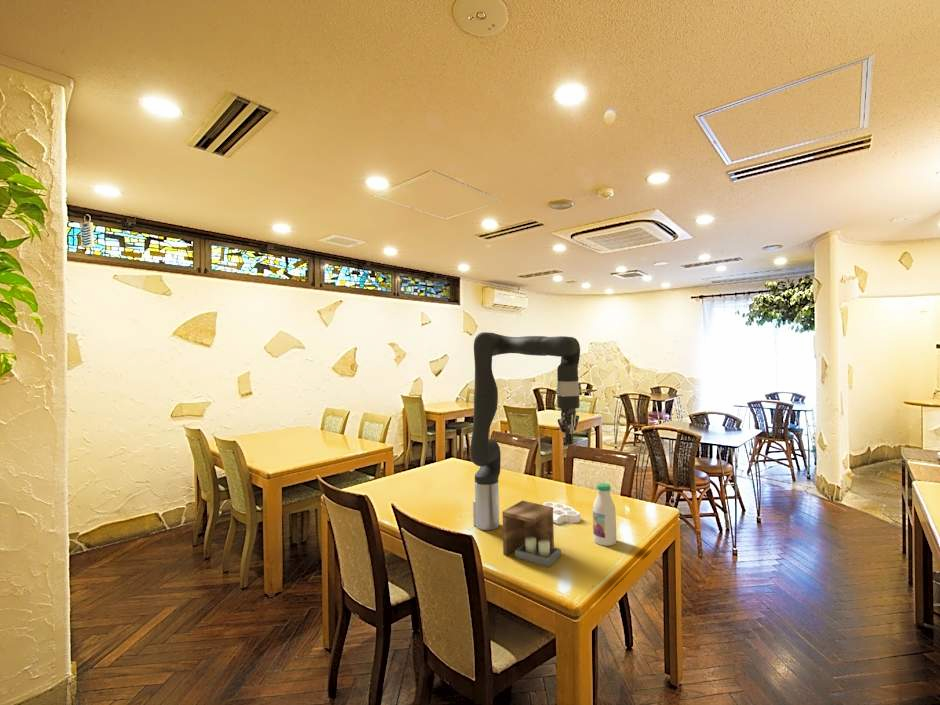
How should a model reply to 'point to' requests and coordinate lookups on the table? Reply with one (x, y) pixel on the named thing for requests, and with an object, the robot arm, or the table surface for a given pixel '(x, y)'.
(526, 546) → the cream cylinder
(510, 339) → the robot arm
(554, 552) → the tray
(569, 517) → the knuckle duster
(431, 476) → the table surface
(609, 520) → the milk bottle
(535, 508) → the brown wooden cube
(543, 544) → the cream piece
